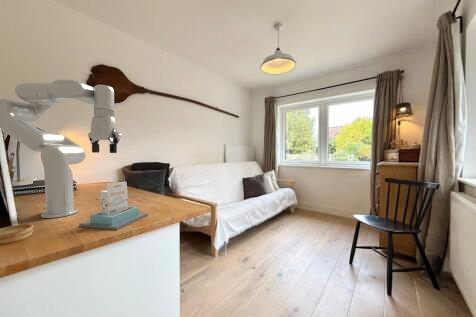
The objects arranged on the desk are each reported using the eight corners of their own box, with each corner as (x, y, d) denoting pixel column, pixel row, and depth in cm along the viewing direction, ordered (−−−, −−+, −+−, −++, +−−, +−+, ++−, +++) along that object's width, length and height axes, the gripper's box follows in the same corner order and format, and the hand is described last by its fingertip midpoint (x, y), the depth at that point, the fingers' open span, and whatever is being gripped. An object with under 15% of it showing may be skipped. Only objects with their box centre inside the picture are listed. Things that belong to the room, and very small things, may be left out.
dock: (79, 226, 77) (78, 215, 77) (115, 213, 94) (115, 204, 94) (116, 230, 73) (116, 219, 73) (147, 215, 90) (147, 206, 90)
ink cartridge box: (121, 214, 89) (120, 180, 88) (128, 215, 86) (127, 181, 86) (100, 220, 81) (99, 183, 80) (107, 222, 79) (106, 184, 78)
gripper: (80, 113, 89) (81, 152, 90) (113, 112, 85) (113, 153, 86) (96, 116, 97) (96, 152, 97) (127, 115, 92) (126, 153, 93)
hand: (104, 152), depth 92 cm, fingers open, 9 cm apart
